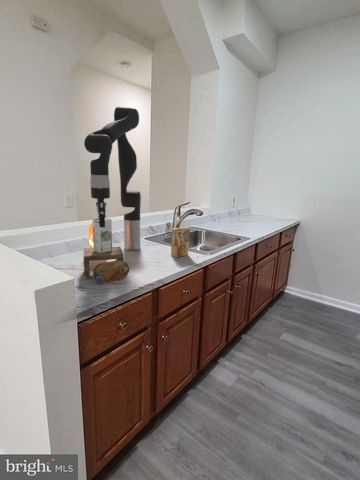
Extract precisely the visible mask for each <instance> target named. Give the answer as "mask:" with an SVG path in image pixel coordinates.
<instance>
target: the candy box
mask: <svg viewBox="0 0 360 480" xmlns="http://www.w3.org/2000/svg"><path fill="white" fill-rule="evenodd" d="M189 242H190V228H189V227H186V226H184V227H183V226H182V227H173V228H171V245H170V246H171V249H170V250H171V251H170V252H171V253H170V255H171V256H172V257H173V258H178V257H179V258H180V257H185V256H189V246H190V245H189V244H190V243H189Z"/></svg>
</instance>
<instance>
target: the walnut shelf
mask: <svg viewBox="0 0 360 480" xmlns="http://www.w3.org/2000/svg"><path fill="white" fill-rule="evenodd" d="M107 260H110V261H112V260H122V261H124V252H123V249H122V247H121V246H112V251H111V252H107V253H102V254H101V253H98V252H95V251H94V248H90V247H89V248H87V247H86V248H83V269H84V270H83V271H84V272H83V273H84V280H90V279H91V271H90V270H91V269H90V262H93V261H107Z"/></svg>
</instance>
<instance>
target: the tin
mask: <svg viewBox="0 0 360 480" xmlns="http://www.w3.org/2000/svg"><path fill="white" fill-rule="evenodd" d="M129 272H130V266H129V263H127V261H125V260H123V261H122V260H116V259H114V260H110V261H104V262H100V263H98V264H96V265H95V267H94V268H93V270H92V277H93V279H94V280H95V282H97V283H98V284H100V285H105V284H109V283H113V282H117V281H122V280H124V279H126V278H127V277H128V275H129Z"/></svg>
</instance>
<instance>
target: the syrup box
mask: <svg viewBox="0 0 360 480" xmlns="http://www.w3.org/2000/svg"><path fill="white" fill-rule="evenodd" d="M112 221H113V220H112V219H111V218H109V217H105V227H100V226H99V217H96V219H95V218H92V222H93V243H94V251H95V252H98V253H101V254H102V253H107V252H111V251H112V247H113V231H112V227H113V226H112Z"/></svg>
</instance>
